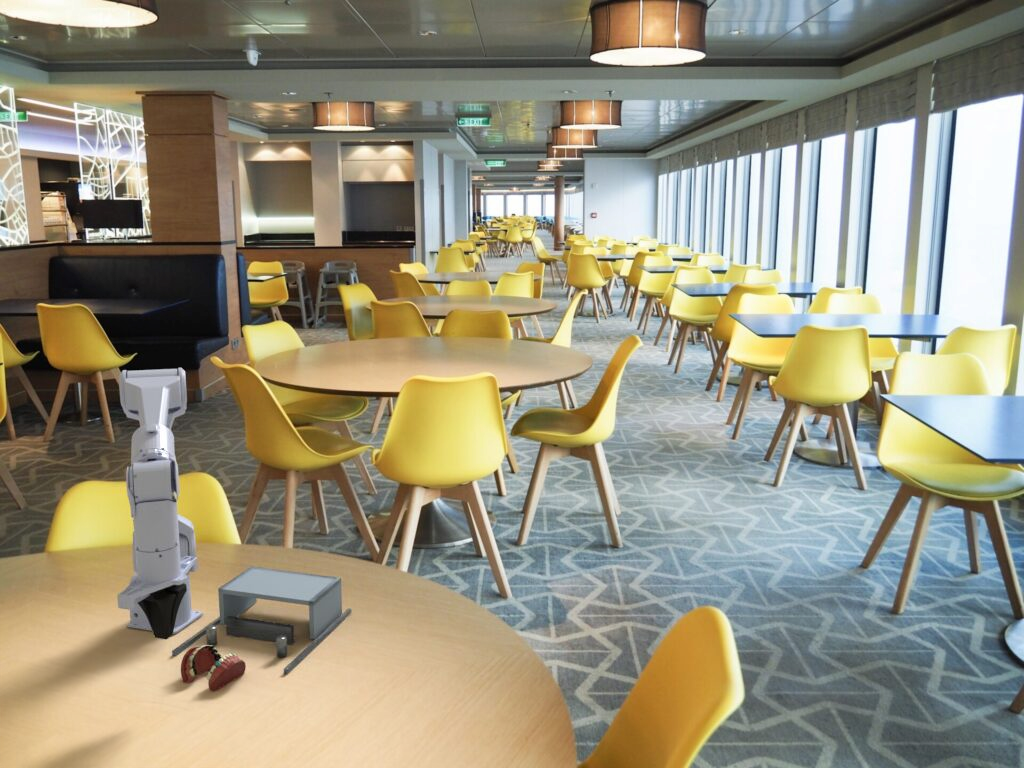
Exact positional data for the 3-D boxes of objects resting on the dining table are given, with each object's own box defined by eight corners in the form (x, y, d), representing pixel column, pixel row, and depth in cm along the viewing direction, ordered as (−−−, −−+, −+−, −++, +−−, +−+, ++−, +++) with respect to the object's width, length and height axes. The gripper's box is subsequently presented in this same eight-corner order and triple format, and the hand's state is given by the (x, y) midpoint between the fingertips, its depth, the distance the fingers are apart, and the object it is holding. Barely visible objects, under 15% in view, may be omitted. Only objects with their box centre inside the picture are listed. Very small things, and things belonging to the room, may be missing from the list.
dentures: (219, 664, 125) (174, 651, 129) (220, 695, 126) (176, 681, 130) (251, 647, 131) (207, 635, 135) (251, 677, 132) (208, 664, 136)
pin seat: (172, 655, 137) (171, 638, 136) (249, 598, 158) (248, 583, 157) (287, 674, 132) (286, 656, 131) (351, 613, 153) (351, 597, 152)
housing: (220, 625, 147) (218, 588, 146) (252, 601, 157) (251, 566, 155) (314, 639, 143) (313, 601, 141) (342, 613, 152) (341, 577, 151)
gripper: (146, 567, 113) (153, 664, 115) (213, 530, 127) (218, 618, 129) (101, 561, 115) (108, 657, 117) (172, 525, 128) (177, 612, 131)
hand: (163, 636), depth 123 cm, fingers closed
